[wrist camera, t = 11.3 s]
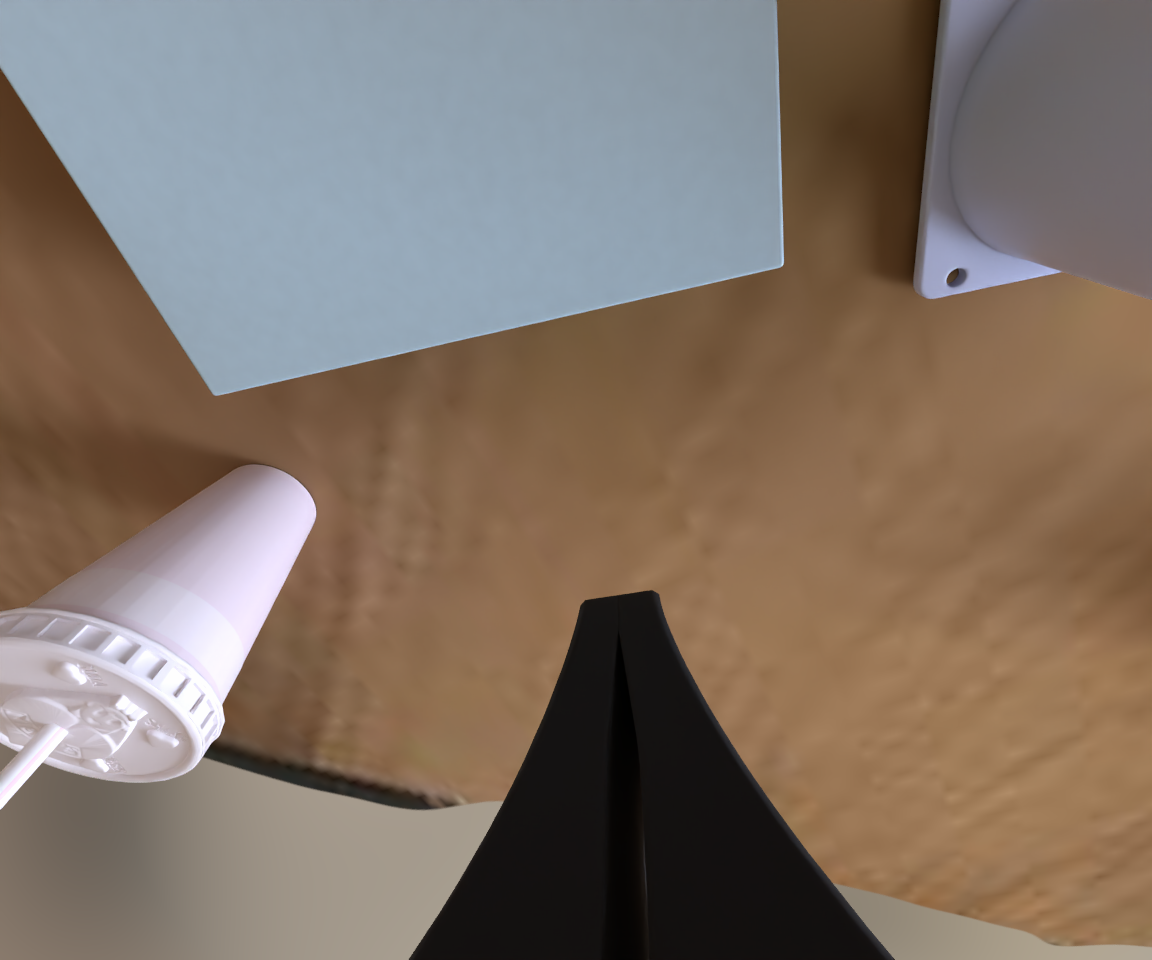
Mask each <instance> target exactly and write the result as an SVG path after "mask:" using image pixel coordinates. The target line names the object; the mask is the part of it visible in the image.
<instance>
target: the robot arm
mask: <svg viewBox="0 0 1152 960" xmlns="http://www.w3.org/2000/svg"><path fill="white" fill-rule="evenodd" d="M957 268H958V270H959V274H958V276H957V278H956V279H955V280H954V281H953V282H951V283H949V284H947V282H946V279H947V277H948V275H949V274H950V272H951V271H953V270H955V269H957ZM1060 272H1065V273H1068V274H1071V275H1074V276H1077V277H1080V278H1084V279H1087V280H1090V281H1093V282H1096V283H1099V284H1103V285H1106V286H1109V287H1112V288H1115V289H1118V290H1122V291H1125V292H1128V293H1131V294H1134V295H1137V296H1141V297H1144V298H1147V299H1150V300H1152V0H941V2H940V12H939V23H938V33H937V43H936V54H935V64H934V74H933V84H932V95H931V105H930V115H929V125H928V136H927V146H926V156H925V167H924V177H923V187H922V197H921V208H920V218H919V228H918V238H917V249H916V259H915V269H914V280H913V286H914V290H915V291H916V293H917V294H919V295H921V296H923V297H925V298H927V299H935V298H940V297H944V296H949V295H954V294H959V293H964V292H969V291H973V290H978V289H983V288H988V287H993V286H997V285H1002V284H1007V283H1012V282H1017V281H1022V280H1026V279H1031V278H1036V277H1041V276H1046V275H1050V274H1055V273H1060ZM409 960H895V959H894V958H893V957H892V956H891V955H890V953H889V952H888V951H887V950H886V949H885V948H884V946H883V945H882V944H881V943H880V942H879V941H878V939H877V938H876V937H875V936H874V934H873V933H872V932H871V931H870V930H869V929H868V927H867V926H866V925H865V924H864V922H863V921H862V920H861V918H860V917H859V916H858V915H857V913H856V912H855V911H854V910H853V908H852V907H851V906H850V905H849V903H848V902H847V901H846V900H845V898H844V897H843V896H842V895H841V893H840V892H839V891H838V889H837V888H836V887H835V886H834V884H833V883H832V882H831V881H830V879H829V878H828V877H827V876H826V874H825V873H824V872H823V871H822V869H821V868H820V867H819V866H818V864H817V863H816V862H815V861H814V859H813V858H812V857H811V855H810V854H809V853H808V852H807V850H806V849H805V848H804V846H803V845H802V844H801V842H800V841H799V840H798V838H797V837H796V836H795V834H794V833H793V832H792V830H791V829H790V827H789V826H788V825H787V823H786V822H785V821H784V819H783V818H782V817H781V815H780V814H779V813H778V811H777V810H776V808H775V807H774V806H773V804H772V803H771V801H770V800H769V799H768V797H767V796H766V794H765V793H764V791H763V790H762V789H761V787H760V786H759V784H758V783H757V781H756V780H755V779H754V777H753V776H752V774H751V773H750V771H749V770H748V768H747V767H746V765H745V764H744V762H743V761H742V759H741V758H740V756H739V755H738V753H737V751H736V750H735V748H734V747H733V745H732V744H731V742H730V740H729V739H728V737H727V736H726V734H725V732H724V731H723V729H722V728H721V726H720V724H719V723H718V721H717V720H716V718H715V716H714V715H713V713H712V711H711V709H710V708H709V706H708V704H707V703H706V701H705V699H704V697H703V695H702V694H701V692H700V690H699V688H698V686H697V684H696V683H695V681H694V679H693V677H692V675H691V673H690V671H689V670H688V668H687V666H686V664H685V662H684V660H683V658H682V656H681V654H680V652H679V649H678V647H677V645H676V643H675V640H674V638H673V636H672V634H671V631H670V629H669V626H668V624H667V621H666V618H665V616H664V612H663V609H662V606H661V602H660V597H659V594H658V593H656V592H654V591H652V590H650V591H643V592H637V593H630V594H623V595H617V596H610V597H603V598H596V599H590V600H585V601H584V602H583V603H582V605H581V606H580V610H579V615H578V619H577V623H576V626H575V630H574V633H573V637H572V640H571V643H570V647H569V650H568V653H567V656H566V659H565V662H564V665H563V667H562V670H561V673H560V675H559V678H558V681H557V683H556V686H555V689H554V691H553V694H552V697H551V699H550V702H549V704H548V707H547V709H546V712H545V714H544V717H543V719H542V721H541V724H540V726H539V728H538V730H537V733H536V735H535V737H534V739H533V742H532V744H531V746H530V748H529V751H528V753H527V755H526V757H525V760H524V762H523V764H522V766H521V768H520V770H519V772H518V774H517V776H516V778H515V780H514V783H513V785H512V787H511V789H510V790H509V792H508V794H507V796H506V798H505V800H504V802H503V804H502V806H501V808H500V810H499V812H498V813H497V815H496V817H495V819H494V821H493V823H492V825H491V827H490V829H489V830H488V832H487V834H486V836H485V837H484V839H483V841H482V843H481V845H480V846H479V848H478V850H477V851H476V853H475V855H474V856H473V858H472V860H471V862H470V863H469V865H468V867H467V869H466V871H465V872H464V874H463V876H462V877H461V879H460V881H459V882H458V884H457V886H456V887H455V889H454V890H453V892H452V894H451V895H450V897H449V899H448V900H447V902H446V904H445V905H444V907H443V908H442V910H441V911H440V913H439V915H438V916H437V918H436V919H435V921H434V922H433V924H432V925H431V927H430V928H429V930H428V931H427V933H426V934H425V936H424V937H423V939H422V940H421V942H420V943H419V945H418V946H417V948H416V950H415V951H414V952H413V954H412V955H411V957H410V958H409Z"/></svg>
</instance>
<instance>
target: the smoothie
mask: <svg viewBox="0 0 1152 960" xmlns="http://www.w3.org/2000/svg"><path fill="white" fill-rule="evenodd" d="M315 519H316V507H315V504H314V501H313V499H312V497H311V495H310V494H309V492H308V491H307V490H306V489H305V487H304V486H303V485H302V484H301V483H300V482H298V481H297V480H296V479H295V478H293V477H292V476H290V475H289V474H287V473H285V472H283V471H281V470H279V469H276V468H273V467H270V466H265V465H257V464H251V465H244V466H241V467H238V468H236V469H235V470H233V471H231V472H230V473H228V474H227V475H225V476H224V477H222V478H221V479H219V480H218V481H216V482H215V483H213V484H212V485H210V486H209V487H207V488H206V489H204V490H203V491H201V492H200V493H198V494H196V495H195V496H193V497H192V498H190V499H189V500H187V501H186V502H184V503H183V504H181V505H180V506H178V507H177V508H175V509H174V510H172V511H171V512H169V513H168V514H166V515H165V516H163V517H162V518H160V519H158V520H157V521H155V522H154V523H152V524H151V525H149V526H148V527H146V528H145V529H143V530H142V531H140V532H139V533H137V534H136V535H134V536H133V537H131V538H130V539H128V540H127V541H125V542H124V543H122V544H120V545H119V546H117V547H116V548H114V549H113V550H111V551H110V552H108V553H107V554H105V555H104V556H102V557H101V558H99V559H98V560H96V561H95V562H93V563H92V564H90V565H89V566H87V567H86V568H84V569H82V570H81V571H79V572H78V573H76V574H75V575H73V576H71V577H69V578H68V579H66V580H65V581H63V582H62V583H61V584H59V585H58V586H56V587H55V588H53V589H52V590H50V591H49V592H47V593H46V594H44V595H43V596H41V597H40V598H38V599H37V600H36V601H34V602H33V603H31V604H30V605H28V606H27V607H22V608H17V609H12V610H6V611H1V612H0V743H2V744H4V745H6V746H8V747H10V748H12V749H13V750H15V751H17V752H19V753H18V754H17V755H16V756H15V757H14V758H13V759H12V760H11V761H10V762H9V764H8V765H7V766H6V767H5V768H4V769H3V770H2V771H1V772H0V809H1V808H2V807H3V806H4V805H5V804H6V803H7V801H8V800H9V799H10V798H11V797H12V796H13V795H14V794H15V792H16V791H17V790H18V789H19V788H20V787H21V786H22V785H23V784H24V782H25V781H26V780H27V779H28V778H29V777H30V776H31V775H32V773H33V772H34V771H35V770H36V769H37V768H38V767H39V766H40V764H41V763H45V764H47V765H50V766H53V767H56V768H59V769H62V770H65V771H69V772H73V773H76V774H80V775H84V776H87V777H93V778H98V779H104V780H109V781H119V782H131V783H132V782H133V783H134V782H137V783H142V782H144V783H145V782H156V781H164V780H168V779H171V778H175V777H178V776H181V775H183V774H185V773H187V772H189V771H190V770H192V769H193V768H194V767H195V766H196V765H197V764H198V763H199V761H200V760H201V758H202V757H203V755H204V754H205V752H206V750H207V749H208V747H209V746H210V744H211V743H212V742H213V741H214V740H215V739H217V738H218V737H219V735H220V733H221V730H222V727H223V725H224V722H225V719H224V713H223V707H222V704H223V702H224V700H225V698H226V696H227V694H228V692H229V691H230V689H231V687H232V685H233V683H234V681H235V679H236V677H237V675H238V674H239V672H240V670H241V668H242V665H243V663H244V661H245V659H246V657H247V655H248V653H249V651H250V649H251V647H252V645H253V643H254V641H255V639H256V637H257V635H258V633H259V631H260V629H261V627H262V625H263V623H264V621H265V619H266V617H267V615H268V613H269V611H270V609H271V607H272V605H273V604H274V602H275V600H276V598H277V596H278V594H279V592H280V590H281V588H282V586H283V584H284V582H285V580H286V578H287V576H288V574H289V572H290V570H291V568H292V566H293V564H294V562H295V560H296V558H297V556H298V554H299V552H300V550H301V548H302V546H303V544H304V542H305V540H306V538H307V536H308V534H309V532H310V530H311V528H312V526H313V524H314V522H315Z"/></svg>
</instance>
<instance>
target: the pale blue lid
mask: <svg viewBox="0 0 1152 960" xmlns="http://www.w3.org/2000/svg"><path fill="white" fill-rule="evenodd" d="M0 69H1V70H2V72H3V73H4V75H5V76H6V78H7V79H8V81H9V82H10V84H11V85H12V87H13V89H14V90H15V92H16V93H17V95H18V96H19V98H20V99H21V101H22V102H23V104H24V105H25V107H26V108H27V110H28V112H29V113H30V115H31V116H32V118H33V119H34V121H35V122H36V124H37V125H38V127H39V128H40V130H41V132H42V133H43V135H44V136H45V138H46V139H47V141H48V142H49V144H50V145H51V147H52V148H53V150H54V151H55V153H56V155H57V156H58V158H59V159H60V161H61V162H62V164H63V165H64V167H65V168H66V170H67V171H68V173H69V175H70V176H71V178H72V179H73V181H74V182H75V184H76V185H77V187H78V188H79V190H80V191H81V193H82V194H83V196H84V198H85V199H86V201H87V202H88V204H89V205H90V207H91V208H92V210H93V211H94V213H95V214H96V216H97V218H98V219H99V221H100V222H101V224H102V225H103V227H104V228H105V230H106V231H107V233H108V234H109V236H110V237H111V239H112V241H113V242H114V244H115V245H116V247H117V248H118V250H119V251H120V253H121V254H122V256H123V257H124V259H125V260H126V262H127V264H128V265H129V267H130V268H131V270H132V271H133V273H134V274H135V276H136V277H137V279H138V280H139V282H140V284H141V285H142V287H143V288H144V290H145V291H146V293H147V294H148V296H149V297H150V299H151V300H152V302H153V303H154V305H155V307H156V308H157V310H158V311H159V313H160V314H161V316H162V317H163V319H164V320H165V322H166V323H167V325H168V327H169V328H170V330H171V331H172V333H173V334H174V336H175V337H176V339H177V340H178V342H179V343H180V345H181V346H182V348H183V350H184V351H185V353H186V354H187V356H188V357H189V359H190V360H191V362H192V363H193V365H194V366H195V368H196V370H197V371H198V373H199V374H200V376H201V377H202V379H203V380H204V382H205V383H206V385H207V386H208V388H209V389H210V391H211V393H212V394H213V395H216V396H217V395H222V394H227V393H231V392H235V391H240V390H244V389H249V388H253V387H257V386H262V385H266V384H271V383H275V382H279V381H284V380H288V379H293V378H297V377H301V376H306V375H310V374H315V373H319V372H323V371H328V370H332V369H337V368H341V367H345V366H350V365H354V364H359V363H363V362H367V361H372V360H376V359H381V358H385V357H389V356H394V355H398V354H402V353H407V352H411V351H416V350H420V349H424V348H429V347H433V346H438V345H442V344H446V343H451V342H455V341H460V340H464V339H468V338H473V337H477V336H482V335H486V334H490V333H495V332H499V331H504V330H508V329H512V328H517V327H521V326H526V325H530V324H534V323H539V322H543V321H548V320H552V319H556V318H561V317H565V316H570V315H574V314H578V313H583V312H587V311H591V310H596V309H600V308H605V307H609V306H613V305H618V304H622V303H627V302H631V301H635V300H640V299H644V298H649V297H653V296H657V295H662V294H666V293H671V292H675V291H679V290H684V289H688V288H693V287H697V286H701V285H706V284H710V283H715V282H719V281H723V280H728V279H732V278H737V277H741V276H745V275H750V274H754V273H758V272H763V271H767V270H772V269H776V268H780V267H782V266H783V264H784V245H783V208H782V172H781V135H780V98H779V62H778V25H777V0H0Z"/></svg>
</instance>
